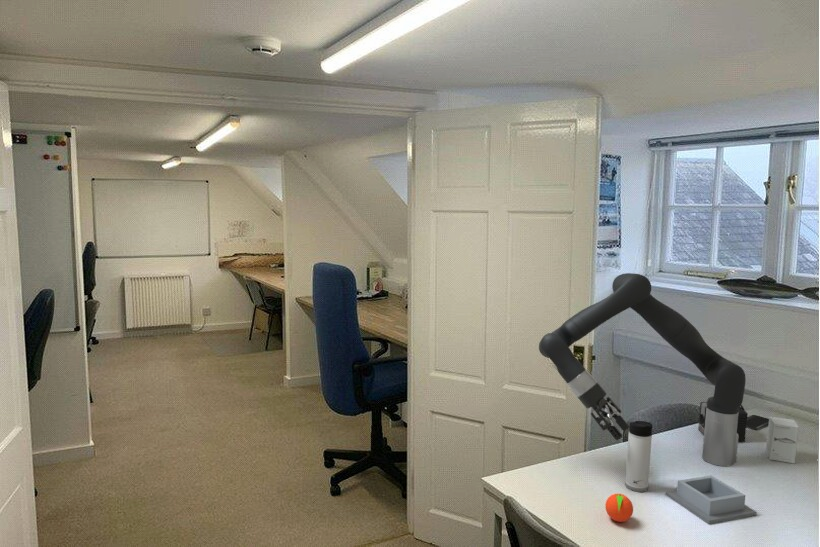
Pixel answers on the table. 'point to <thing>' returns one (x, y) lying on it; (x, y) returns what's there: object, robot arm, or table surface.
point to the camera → (740, 426)
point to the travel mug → (638, 456)
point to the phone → (756, 422)
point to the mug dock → (710, 499)
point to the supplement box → (782, 439)
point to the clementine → (619, 507)
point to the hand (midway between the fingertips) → (623, 433)
